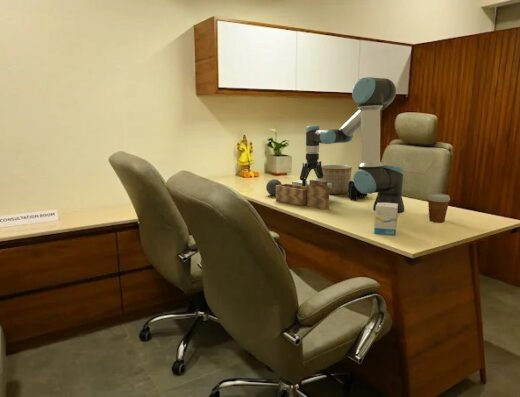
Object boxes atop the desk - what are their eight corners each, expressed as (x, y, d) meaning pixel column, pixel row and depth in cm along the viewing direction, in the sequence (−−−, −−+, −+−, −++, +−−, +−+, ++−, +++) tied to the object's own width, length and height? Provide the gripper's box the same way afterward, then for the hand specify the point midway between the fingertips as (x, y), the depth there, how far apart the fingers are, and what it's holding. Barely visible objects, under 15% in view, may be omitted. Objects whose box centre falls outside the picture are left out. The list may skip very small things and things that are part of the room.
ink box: (395, 235, 159) (397, 207, 156) (373, 233, 162) (375, 205, 159) (396, 230, 166) (398, 203, 164) (375, 228, 169) (377, 201, 167)
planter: (317, 194, 244) (317, 168, 240) (322, 189, 262) (323, 164, 258) (348, 196, 238) (349, 169, 234) (352, 190, 255) (353, 165, 252)
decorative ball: (264, 196, 239) (264, 180, 237) (268, 193, 248) (268, 177, 246) (280, 197, 236) (280, 180, 234) (284, 194, 245) (284, 178, 243)
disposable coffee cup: (421, 221, 180) (423, 195, 177) (430, 217, 186) (432, 192, 184) (443, 225, 173) (445, 198, 171) (451, 221, 180) (454, 195, 177)
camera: (368, 200, 225) (369, 183, 223) (349, 200, 226) (349, 183, 224) (364, 196, 238) (365, 179, 236) (346, 195, 239) (347, 179, 237)
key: (327, 186, 204) (327, 181, 204) (324, 186, 203) (324, 182, 202) (312, 184, 211) (312, 179, 211) (309, 184, 210) (309, 180, 209)
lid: (331, 187, 226) (331, 183, 226) (319, 190, 219) (319, 185, 219) (304, 183, 242) (304, 179, 241) (291, 185, 234) (291, 181, 234)
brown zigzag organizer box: (332, 207, 208) (333, 186, 205) (321, 210, 202) (322, 188, 200) (286, 198, 232) (286, 179, 230) (275, 200, 226) (275, 181, 224)
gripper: (320, 151, 237) (319, 187, 241) (293, 153, 221) (293, 192, 226) (330, 152, 231) (329, 188, 236) (303, 154, 216) (302, 194, 220)
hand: (311, 190), depth 231 cm, fingers closed on lid, 11 cm apart
